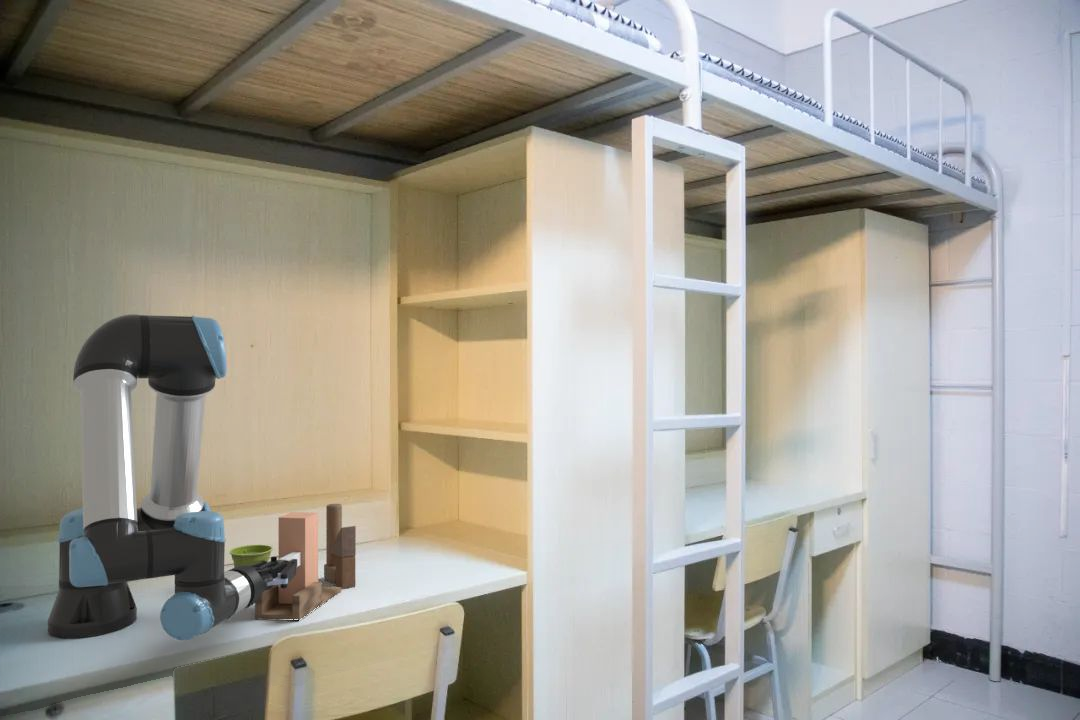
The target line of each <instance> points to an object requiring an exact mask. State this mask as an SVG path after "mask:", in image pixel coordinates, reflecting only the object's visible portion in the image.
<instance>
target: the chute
mask: <svg viewBox="0 0 1080 720" xmlns="http://www.w3.org/2000/svg"><path fill="white" fill-rule="evenodd" d="M322 584H323V583H322V581H318V582H314V583H312V584H311V585H309V586H307V587H306V588H304V589H303V590H301V591H299V592H298V593H296V594H294V595H293V596H292V604H281V603H278V585H273V587H272V588H271V589H268V590H265V591H264V592H263V593H262V595H261V597H260V598H259V600H258V601H257V602H256V603H255V604H254V619H255V620H269V619H293V620H294V619H298V620H300V619H301V618H303V617H304V616H306V615H307V614H309V613H310V612H311V611H313V610H314V609H315V608H317V607H318V606H320V605H322V604H323V603H325V602H326V601H327V602H329V601H330V600H331V598H332V597H333V598H335V597H334V596H335V595H336V596H338V595H339V594H340V593H341V592H342V589H341V587H337V586H323V585H322ZM338 593H339V594H338ZM333 598H332V599H333ZM329 599H330V600H329ZM328 600H329V601H328ZM327 602H326V603H327ZM326 603H325V604H326ZM323 605H324V604H323ZM323 605H322V606H323ZM320 607H321V606H320ZM317 609H318V608H317ZM313 612H314V611H313ZM310 614H311V613H310ZM310 614H309V615H310ZM307 616H308V615H307ZM307 616H306V617H307ZM303 619H304V618H303ZM300 621H301V620H300Z"/></svg>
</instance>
